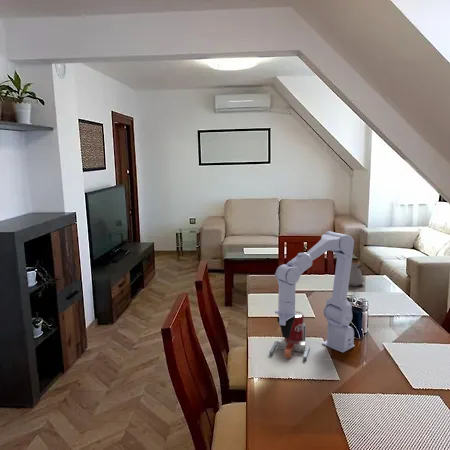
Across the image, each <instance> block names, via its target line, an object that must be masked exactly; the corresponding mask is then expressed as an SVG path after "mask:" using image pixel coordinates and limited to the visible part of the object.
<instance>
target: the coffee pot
mask: <svg viewBox="0 0 450 450" xmlns="http://www.w3.org/2000/svg"><path fill="white" fill-rule="evenodd" d="M361 267H362V268H361ZM362 269H364V266H362V265H361V261H358V260H352V263H351V271H350V278H349V286H351V287H359V286H361V285H362V284H363V283H364V282H365V277H364V276H363V274H362V271H361V270H362Z"/></svg>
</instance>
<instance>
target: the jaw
mask: <svg viewBox="0 0 450 450" xmlns="http://www.w3.org/2000/svg"><path fill="white" fill-rule="evenodd" d="M277 341H278V346H277V349H278V350H284V359H290V360H292V359H291V358H292V356H293V353H294V352H299V353H305V351H306V348H307V346H306V342H307V341H304V340H303V341H296V340H289V339H284V338H283V337H282V338H281V337H279V338H278V340H277Z"/></svg>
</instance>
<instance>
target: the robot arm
mask: <svg viewBox="0 0 450 450" xmlns="http://www.w3.org/2000/svg"><path fill="white" fill-rule="evenodd" d="M354 245H355V240H354V239H353V237H352V236H351V235H350V234H343V233H339V232H334V231H332V230H329V231H328V230H327V231H326V232H325V233H324V234H322V235H321V237H320V239H319V241H318V242H316V244H314V245H313V246H312V247H311V248H310V249H309V250H307V252H298V253H297V255H296V256H295V257H294V258H292V259H291V260H288V262H287V263H285V264H281V265H279V266H278V267H277V268H276V270H275V273H274V277H275V279H276V280H277V286H278V292H277V293H278V297H277V298H278V299H277V301H278V305H277V307H278V308H277V309H275V310H274V314H277V315H278V317H277V323H278V324H279V326H280V331H281V336H282V338H283V339H284V338H289V336H290V333H291V328H292V324H293V322H294V320H295V314H296V312H295V311H296V285H297V283H298V282H299V280H300V277H301V276H302V275H303V273H304V272H305V271H307V270H308V269H309V268H311V267H312V266H313V261H314V260H316V259H317V258H319V257H320V256H322V255H323V254H325V253H326V252H328V251H331V252H333V254H334V255H335V256H336V264H335V272H334V278H333V287H332V295H331V297H329V298H328V299H327V300H326V302H325V306H324V308H323V312H322V313H323V316H324V318H325V319H326V320H325V321H326V322H327V327H326V328H327V332H326V340H325V341H323V342H321V344H322V345H323V346H326V347H328V348H331V349H333V350H335V351H337V352H338V351H339V352H341V353H345V352H347V351H349V350H350V349H352V348H355V344H354V341H355V330H354V328H353V327H352V326H350V324H351V322H352V320H353V306H352V304H351V303H350V302H349V300H348V299H347V298H348V291H349V286H350V285H349V278H350V271H351V263H352V261H353V255H354Z"/></svg>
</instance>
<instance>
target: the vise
mask: <svg viewBox="0 0 450 450" xmlns="http://www.w3.org/2000/svg"><path fill="white" fill-rule="evenodd" d="M306 326H307V324H306V323H304V332H303V341H306V338H307V337H306V334H307V333H306V332H307V331H306V329H307V327H306ZM276 349H278V340H275V341H274V343H273V344H272V347H271V348H270V351H269V356H271V357H273V356H274V353H275V352H276ZM310 351H311V346H310V345H307V346H306V347H305V352H304V353H303V356H302V361H303V362H307V360H308V357H309V353H310Z"/></svg>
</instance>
